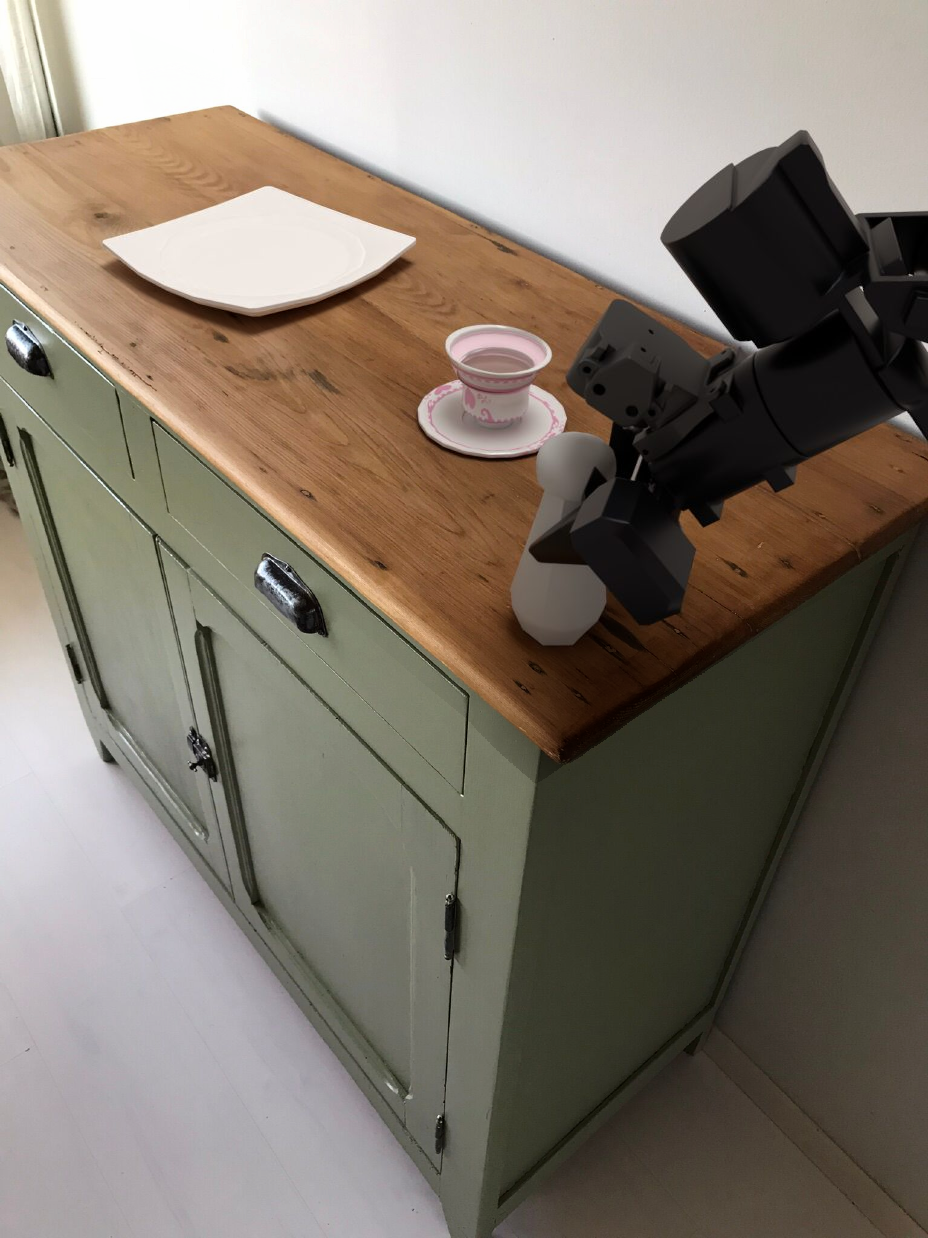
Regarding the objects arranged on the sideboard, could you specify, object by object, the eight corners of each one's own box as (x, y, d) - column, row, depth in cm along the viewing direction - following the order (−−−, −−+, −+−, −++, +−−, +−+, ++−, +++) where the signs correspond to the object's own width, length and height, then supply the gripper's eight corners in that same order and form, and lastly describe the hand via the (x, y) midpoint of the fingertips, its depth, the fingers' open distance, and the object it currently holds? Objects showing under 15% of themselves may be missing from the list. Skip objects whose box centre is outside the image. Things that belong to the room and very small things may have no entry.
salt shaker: (553, 671, 56) (578, 490, 48) (488, 619, 60) (501, 441, 51) (619, 628, 59) (655, 450, 51) (554, 581, 62) (577, 406, 54)
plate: (255, 346, 85) (252, 317, 83) (89, 267, 96) (83, 241, 94) (433, 264, 99) (434, 238, 97) (271, 204, 110) (269, 180, 108)
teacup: (595, 417, 78) (605, 347, 73) (504, 479, 71) (509, 406, 67) (481, 368, 83) (484, 300, 79) (386, 421, 76) (384, 349, 72)
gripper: (717, 198, 49) (501, 356, 59) (651, 359, 36) (387, 527, 46) (829, 365, 53) (608, 487, 63) (806, 566, 40) (531, 681, 50)
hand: (542, 535), depth 55 cm, fingers closed on salt shaker, 3 cm apart
